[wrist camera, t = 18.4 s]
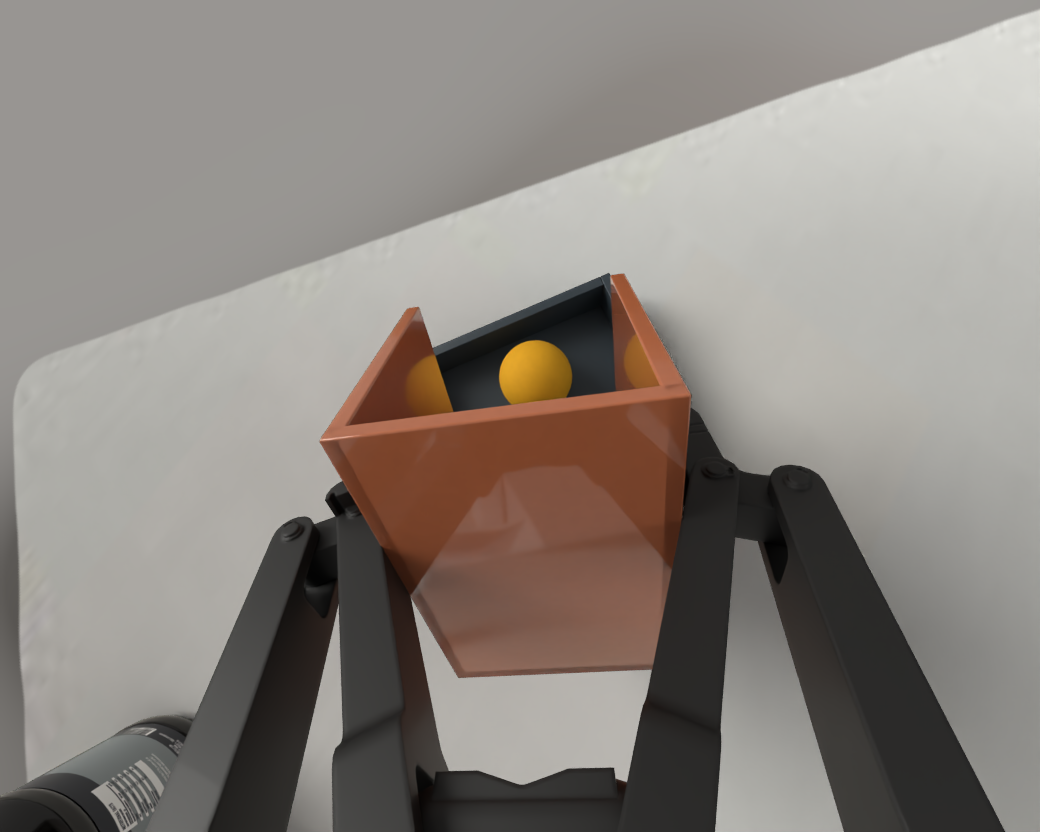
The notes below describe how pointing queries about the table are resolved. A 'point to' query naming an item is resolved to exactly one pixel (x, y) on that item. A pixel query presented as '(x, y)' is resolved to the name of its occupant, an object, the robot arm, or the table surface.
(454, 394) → the tray
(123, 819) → the supplement container
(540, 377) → the ball
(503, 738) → the table surface
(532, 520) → the orange open box
